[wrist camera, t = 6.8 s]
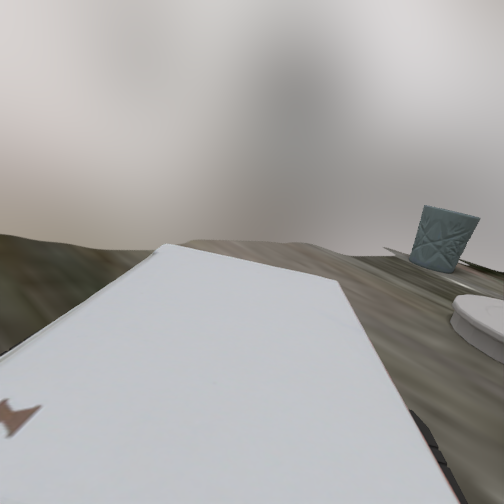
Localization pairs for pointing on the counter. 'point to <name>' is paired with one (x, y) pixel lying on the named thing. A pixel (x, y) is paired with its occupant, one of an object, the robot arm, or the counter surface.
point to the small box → (209, 396)
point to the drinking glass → (441, 238)
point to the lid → (480, 323)
